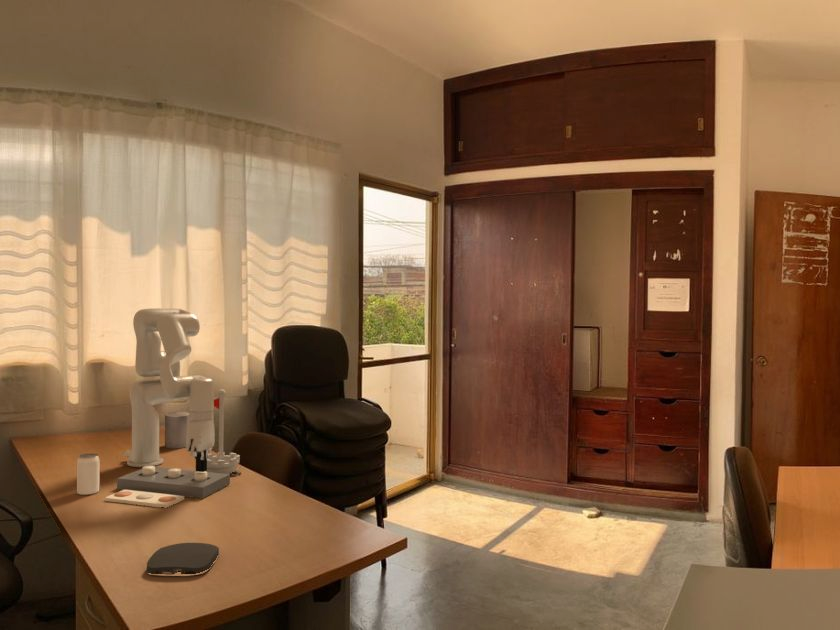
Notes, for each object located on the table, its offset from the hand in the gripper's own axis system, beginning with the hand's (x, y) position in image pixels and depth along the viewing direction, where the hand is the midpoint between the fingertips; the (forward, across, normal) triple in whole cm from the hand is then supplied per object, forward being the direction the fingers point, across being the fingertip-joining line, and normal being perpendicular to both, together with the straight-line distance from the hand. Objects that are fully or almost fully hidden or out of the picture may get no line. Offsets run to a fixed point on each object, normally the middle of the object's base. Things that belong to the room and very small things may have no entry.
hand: (201, 470), depth 216 cm
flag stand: (+6, -22, -6) cm, 24 cm away
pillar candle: (+6, -50, -44) cm, 67 cm away
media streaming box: (+7, +53, +30) cm, 61 cm away
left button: (+4, 0, -20) cm, 21 cm away
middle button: (+4, 0, -10) cm, 11 cm away
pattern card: (+6, +15, -10) cm, 19 cm away
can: (+6, +14, -32) cm, 36 cm away
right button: (+4, 0, 0) cm, 4 cm away
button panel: (+6, 0, -10) cm, 12 cm away
